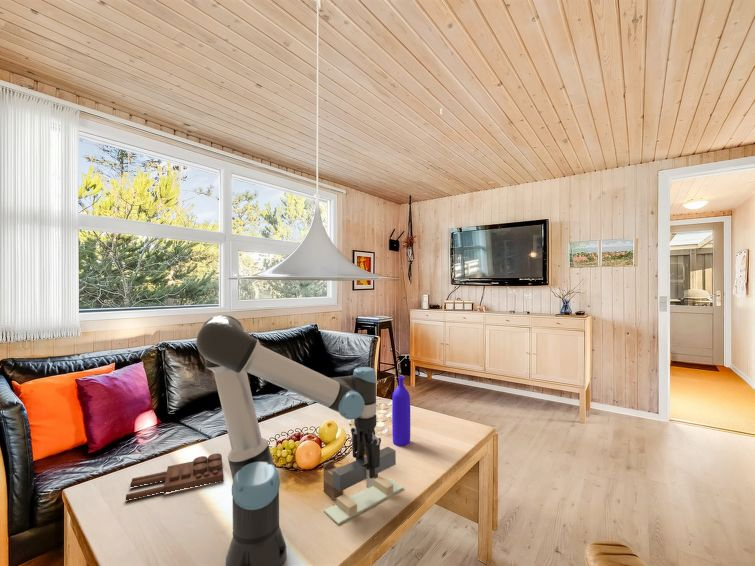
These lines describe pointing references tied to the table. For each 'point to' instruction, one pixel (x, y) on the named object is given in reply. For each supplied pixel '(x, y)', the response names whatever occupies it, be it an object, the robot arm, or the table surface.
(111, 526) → the table surface
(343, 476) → the rail
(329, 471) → the rack
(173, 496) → the table surface
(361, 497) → the board
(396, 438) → the bottle
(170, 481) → the miniature factory model
